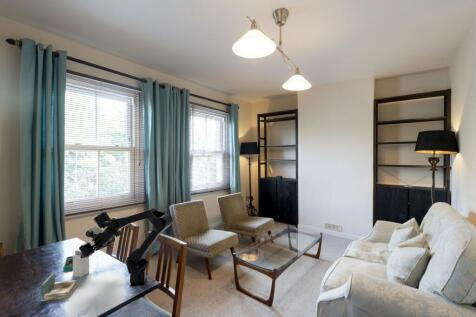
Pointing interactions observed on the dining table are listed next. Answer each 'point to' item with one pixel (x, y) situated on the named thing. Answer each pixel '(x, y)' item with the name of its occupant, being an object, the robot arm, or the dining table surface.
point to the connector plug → (80, 264)
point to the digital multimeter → (68, 264)
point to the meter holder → (56, 288)
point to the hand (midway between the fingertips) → (88, 253)
